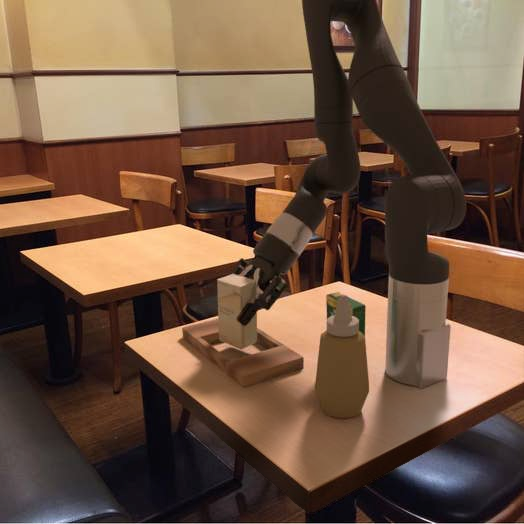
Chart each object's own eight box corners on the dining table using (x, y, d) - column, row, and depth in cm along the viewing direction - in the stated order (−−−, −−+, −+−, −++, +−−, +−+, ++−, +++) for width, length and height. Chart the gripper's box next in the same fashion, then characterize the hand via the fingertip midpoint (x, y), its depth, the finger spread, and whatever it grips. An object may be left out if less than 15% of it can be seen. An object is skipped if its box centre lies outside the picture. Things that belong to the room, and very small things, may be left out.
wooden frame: (303, 367, 99) (303, 357, 98) (243, 387, 93) (243, 376, 92) (236, 323, 119) (235, 314, 118) (182, 337, 113) (182, 327, 112)
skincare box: (218, 341, 106) (214, 279, 103) (235, 333, 109) (232, 272, 106) (242, 350, 102) (239, 286, 98) (259, 342, 105) (257, 279, 101)
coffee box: (324, 363, 100) (325, 293, 96) (338, 359, 101) (339, 290, 98) (350, 383, 93) (352, 308, 90) (365, 379, 94) (367, 305, 91)
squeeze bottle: (336, 389, 92) (337, 283, 86) (379, 407, 86) (383, 294, 81) (303, 410, 86) (302, 297, 81) (347, 430, 81) (350, 311, 75)
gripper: (250, 224, 109) (198, 294, 107) (293, 240, 98) (236, 319, 95) (274, 246, 113) (225, 314, 111) (318, 263, 102) (264, 340, 100)
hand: (230, 316), depth 103 cm, fingers closed on skincare box, 7 cm apart
